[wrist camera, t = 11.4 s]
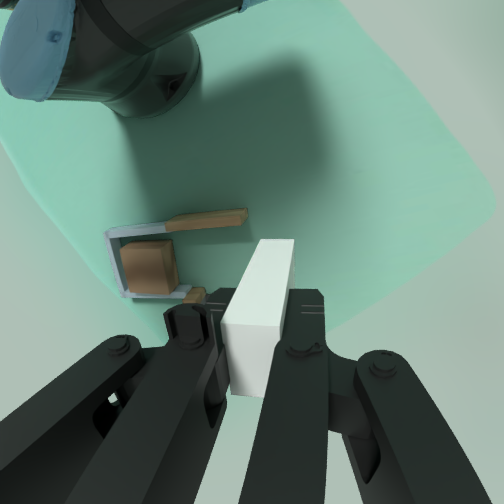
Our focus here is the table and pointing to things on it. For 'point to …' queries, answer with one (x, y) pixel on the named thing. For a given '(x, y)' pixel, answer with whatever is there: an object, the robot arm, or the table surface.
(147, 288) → the block
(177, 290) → the dock
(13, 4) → the supplement container
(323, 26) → the table surface
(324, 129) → the table surface
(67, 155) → the table surface
